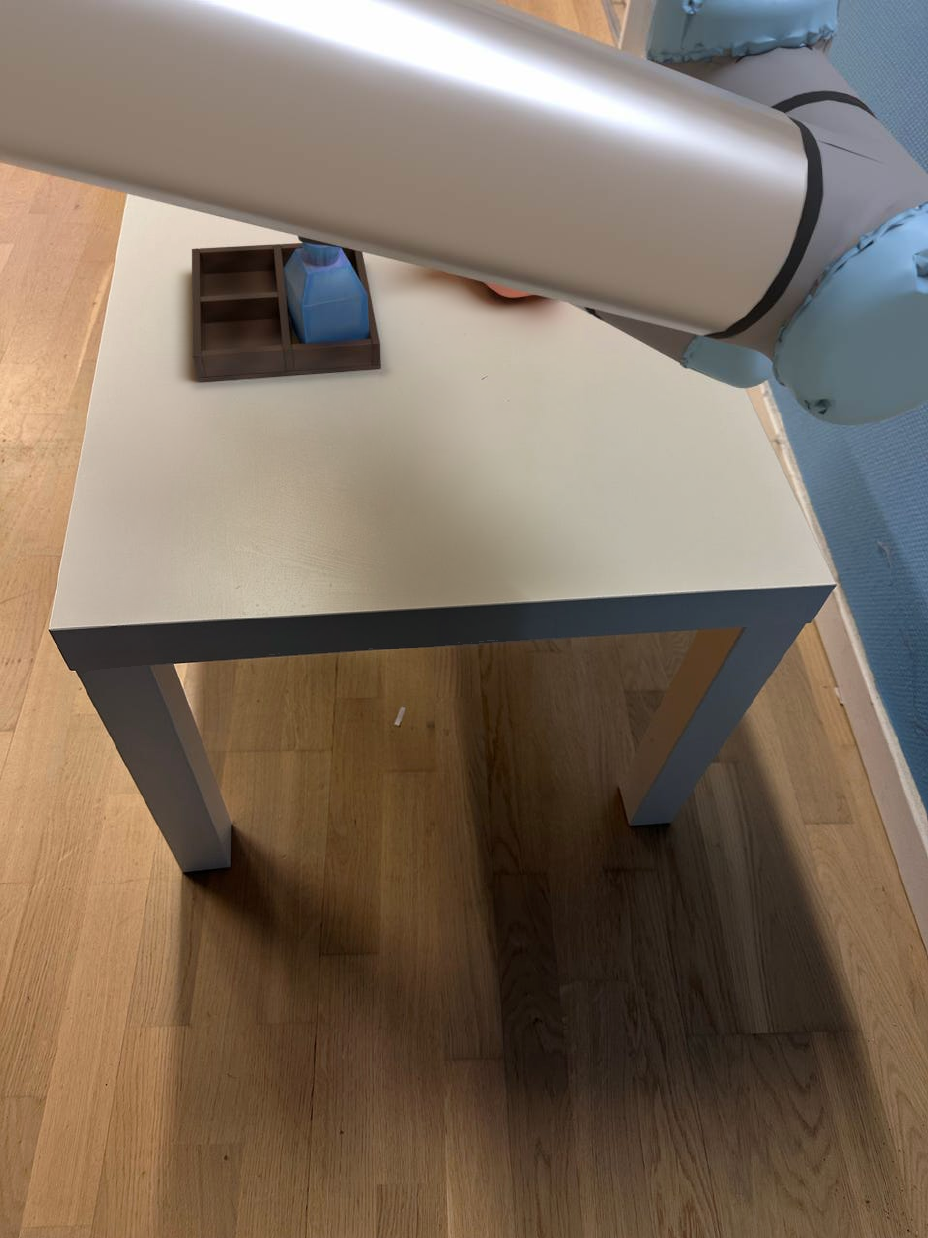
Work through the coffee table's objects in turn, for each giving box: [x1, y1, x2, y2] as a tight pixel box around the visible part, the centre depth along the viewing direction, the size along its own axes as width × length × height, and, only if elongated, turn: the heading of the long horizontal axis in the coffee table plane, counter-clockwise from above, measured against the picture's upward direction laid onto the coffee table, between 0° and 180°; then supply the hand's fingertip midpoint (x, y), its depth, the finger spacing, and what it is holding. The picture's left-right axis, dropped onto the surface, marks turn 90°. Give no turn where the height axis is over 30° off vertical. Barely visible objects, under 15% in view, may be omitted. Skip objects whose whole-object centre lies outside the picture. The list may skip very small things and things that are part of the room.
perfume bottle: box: [284, 242, 369, 344], centre depth 84 cm, size 6×6×12 cm
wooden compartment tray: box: [191, 242, 382, 383], centre depth 90 cm, size 17×17×3 cm
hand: (337, 118), depth 63 cm, fingers open, 13 cm apart
